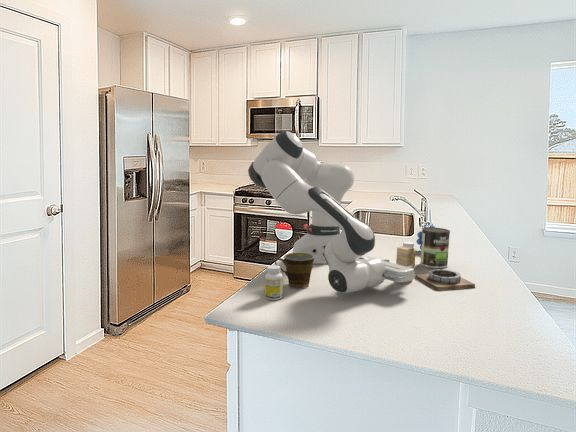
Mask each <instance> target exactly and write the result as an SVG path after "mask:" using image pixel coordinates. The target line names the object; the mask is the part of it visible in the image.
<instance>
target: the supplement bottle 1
mask: <svg viewBox="0 0 576 432" xmlns="http://www.w3.org/2000/svg"><path fill="white" fill-rule="evenodd" d="M277 265H278V264H277ZM277 265H275V264H274V265H272V264H271V265H268V266H267V268H266V271H267V273H265V275H264V287H265V290H264V296H265V299H266V300H269V301H277V300H278V301H279V300H281V299H283V297H284V296H283V295H284V294H283V293H284V290H283V289H284V285H283V284H284V283H283V282H284V281H283V280H284V278H283V274H282V273H281V269H280V268H281V266H280V265H278V266H277Z"/></svg>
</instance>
